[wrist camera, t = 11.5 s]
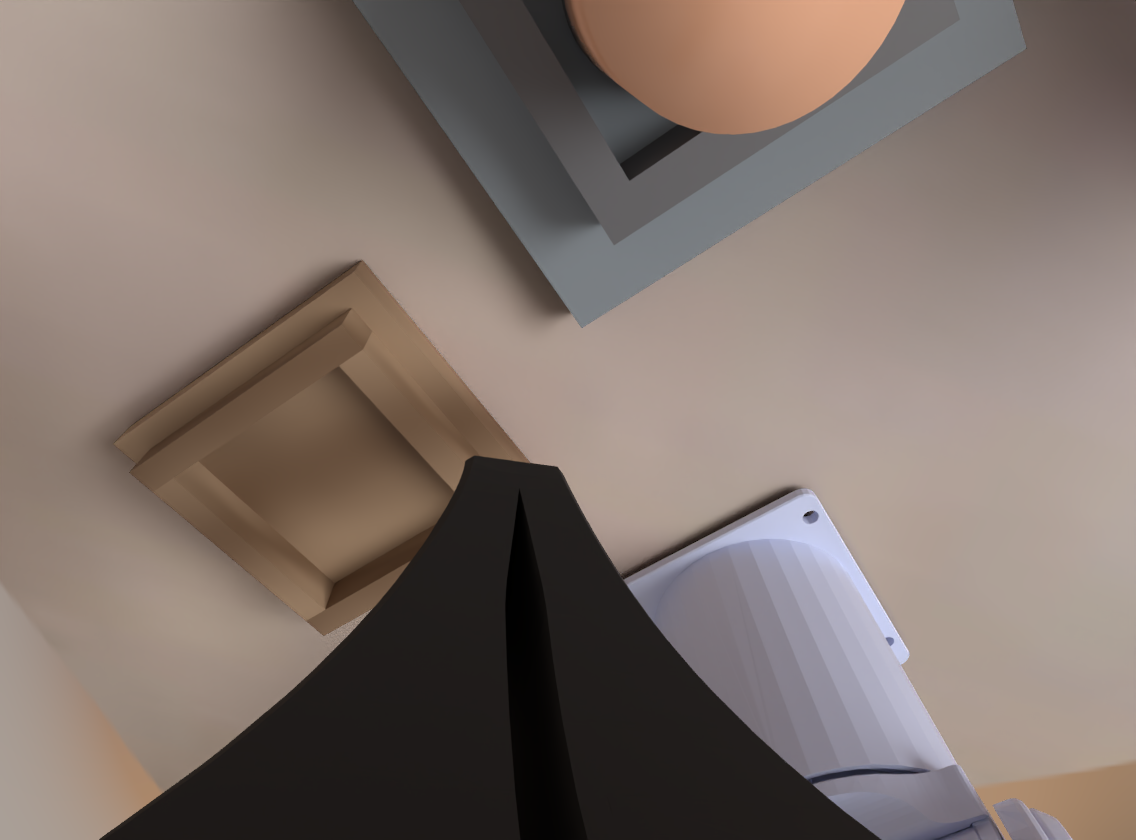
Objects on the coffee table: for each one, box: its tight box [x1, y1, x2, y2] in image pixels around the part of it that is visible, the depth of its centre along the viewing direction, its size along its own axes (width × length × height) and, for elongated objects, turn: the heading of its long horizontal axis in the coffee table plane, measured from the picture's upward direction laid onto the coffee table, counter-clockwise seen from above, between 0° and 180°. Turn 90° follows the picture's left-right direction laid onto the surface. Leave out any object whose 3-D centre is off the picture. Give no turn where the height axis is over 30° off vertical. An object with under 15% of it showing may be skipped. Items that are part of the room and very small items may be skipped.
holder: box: [114, 260, 530, 636], centre depth 21 cm, size 9×9×2 cm
